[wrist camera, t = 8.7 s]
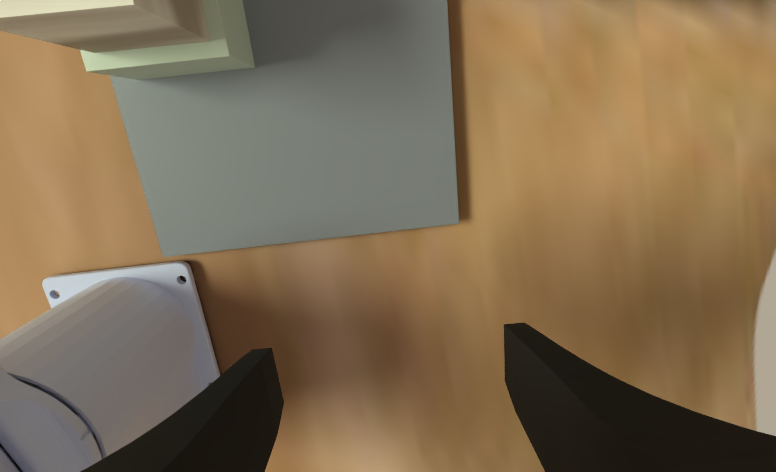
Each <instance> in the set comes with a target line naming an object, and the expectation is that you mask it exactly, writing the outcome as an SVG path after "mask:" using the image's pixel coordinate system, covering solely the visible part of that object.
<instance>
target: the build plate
mask: <svg viewBox="0 0 776 472" xmlns="http://www.w3.org/2000/svg"><path fill="white" fill-rule="evenodd" d="M243 5H244V11H245V16H246V21H247V26H248V32H249V37H250V42H251V48H252V53H253V58H254V63H255V68H245V69H236V70H227V71H218V72H209V73H199V74H190V75H181V76H172V77H162V78H153V79H144V80H135V79H129V78H123V77H117V76H111V75H110V78H111V81H112V85H113V88H114V91H115V95H116V98H117V102H118V105H119V108H120V112H121V115H122V119H123V122H124V126H125V129H126V132H127V136H128V139H129V143H130V146H131V149H132V153H133V156H134V160H135V163H136V166H137V170H138V173H139V177H140V180H141V183H142V187H143V190H144V194H145V197H146V200H147V204H148V207H149V211H150V214H151V217H152V221H153V224H154V228H155V231H156V234H157V238H158V241H159V245H160V248H161V251H162V255H163V257H168V256H177V255H186V254H194V253H203V252H212V251H221V250H230V249H239V248H247V247H256V246H265V245H274V244H283V243H292V242H300V241H309V240H318V239H327V238H336V237H345V236H353V235H362V234H371V233H380V232H389V231H398V230H406V229H415V228H424V227H433V226H442V225H451V224H459V213H458V195H457V176H456V157H455V138H454V120H453V101H452V82H451V63H450V44H449V26H448V7H447V0H243Z"/></svg>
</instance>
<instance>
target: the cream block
mask: <svg viewBox="0 0 776 472" xmlns="http://www.w3.org/2000/svg"><path fill="white" fill-rule="evenodd" d="M0 31H4V32H8V33H13V34H17V35H21V36H25V37H29V38H34V39H38V40H42V41H46V42H51V43H55V44H59V45H63V46H67V47H72V48H76V49H80V50H84V51H89V52H93V53H99V52H109V51H119V50H129V49H139V48H149V47H159V46H169V45H179V44H189V43H199V42H209V41H210V36H209V32H208V27H207V22H206V17H205V13H204V8H203V3H202V0H0Z"/></svg>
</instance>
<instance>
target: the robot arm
mask: <svg viewBox="0 0 776 472" xmlns="http://www.w3.org/2000/svg"><path fill="white" fill-rule="evenodd" d="M180 276H184V277H185V278H186V282H184V281H182V280H181V279H180ZM42 285H43V289H44V291H45V294H46V296H47V299H48V301H49V304H50V306H51V309H50V310H48V311H46V312H45V313H43V314H41V315H40V316H38V317H36V318H35V319H33V320H31V321H30V322H28V323H26V324H25V325H23V326H21V327H20V328H18V329H16V330H14V331H13V332H11V333H9V334H8V335H6V336H4V337H3V338H1V339H0V472H265V469H266V466H267V463H268V460H269V458H270V455H271V452H272V449H273V446H274V443H275V440H276V437H277V434H278V429H279V425H280V420H281V415H282V410H283V404H284V400H283V396H282V392H281V387H280V383H279V378H278V374H277V369H276V365H275V361H274V356H273V352H272V348H265V349H255V350H251V351H250V352H249V353H247V354H246V355H245V356H243V357H242V358H241V359H240V360H239V361H237V362H236V363H235V364H234V365H233V366H231V367H230V368H229V369H228V370H227V371H226V372H224V373H223V374H222V375H221V376H220V372H219V369H218V365H217V361H216V358H215V354H214V350H213V347H212V343H211V339H210V336H209V332H208V329H207V325H206V321H205V318H204V314H203V310H202V307H201V303H200V299H199V296H198V292H197V288H196V285H195V281H194V277H193V274H192V270H191V267H190V265H189V264H188V263H186V262H184V261H176V262H167V263H158V264H149V265H141V266H132V267H123V268H114V269H105V270H97V271H88V272H79V273H70V274H61V275H53V276H50V277H48V278H46V279H45V280H43V283H42ZM55 290H56V291H57V292H58V293H59V295H60V296H59V295H57V294H56V292H55ZM504 353H505V382H506V385H507V388H508V391H509V394H510V397H511V400H512V403H513V406H514V408H515V411H516V413H517V415H518V417H519V419H520V421H521V424H522V426H523V428H524V430H525V432H526V434H527V436H528V438H529V440H530V442H531V444H532V446H533V448H534V450H535V452H536V454H537V456H538V458H539V460H540V462H541V464H542V466H543V468H544V470H545V472H776V436H772V435H769V434H765V433H761V432H757V431H754V430H750V429H747V428H743V427H740V426H737V425H734V424H731V423H727V422H724V421H721V420H718V419H715V418H712V417H709V416H706V415H703V414H700V413H697V412H694V411H692V410H689V409H686V408H684V407H681V406H679V405H676V404H673V403H671V402H668V401H666V400H663V399H661V398H658V397H656V396H653V395H651V394H649V393H646V392H644V391H642V390H640V389H638V388H636V387H633V386H631V385H629V384H627V383H625V382H623V381H621V380H619V379H617V378H615V377H613V376H611V375H609V374H607V373H605V372H603V371H602V370H600V369H598V368H596V367H594V366H593V365H591V364H589V363H587V362H586V361H584V360H582V359H581V358H579V357H577V356H576V355H574V354H572V353H571V352H569V351H567V350H566V349H564V348H563V347H561V346H560V345H558V344H557V343H555V342H553V341H552V340H550V339H549V338H547V337H546V336H544V335H543V334H541V333H540V332H538V331H537V330H535V329H534V328H532V327H531V326H529V325H527V324H526V323H515V324H505V325H504ZM210 382H211V384H210Z"/></svg>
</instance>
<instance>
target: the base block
mask: <svg viewBox="0 0 776 472" xmlns="http://www.w3.org/2000/svg"><path fill="white" fill-rule="evenodd" d="M202 3H203V8H204V13H205V17H206V22H207V27H208V32H209V36H210V41H209V42H199V43H189V44H179V45H169V46H159V47H149V48H139V49H129V50H119V51H109V52H99V53H93V52H89V51H84V50H80V52H81V55H82V58H83V61H84V65H85V68H86V71H87V72H93V73H99V74H105V75H111V76H117V77H123V78H129V79H135V80H144V79H153V78H162V77H172V76H181V75H190V74H199V73H209V72H218V71H227V70H236V69H245V68H255V63H254V58H253V53H252V48H251V42H250V37H249V32H248V26H247V21H246V16H245V11H244V5H243V0H202Z"/></svg>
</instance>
